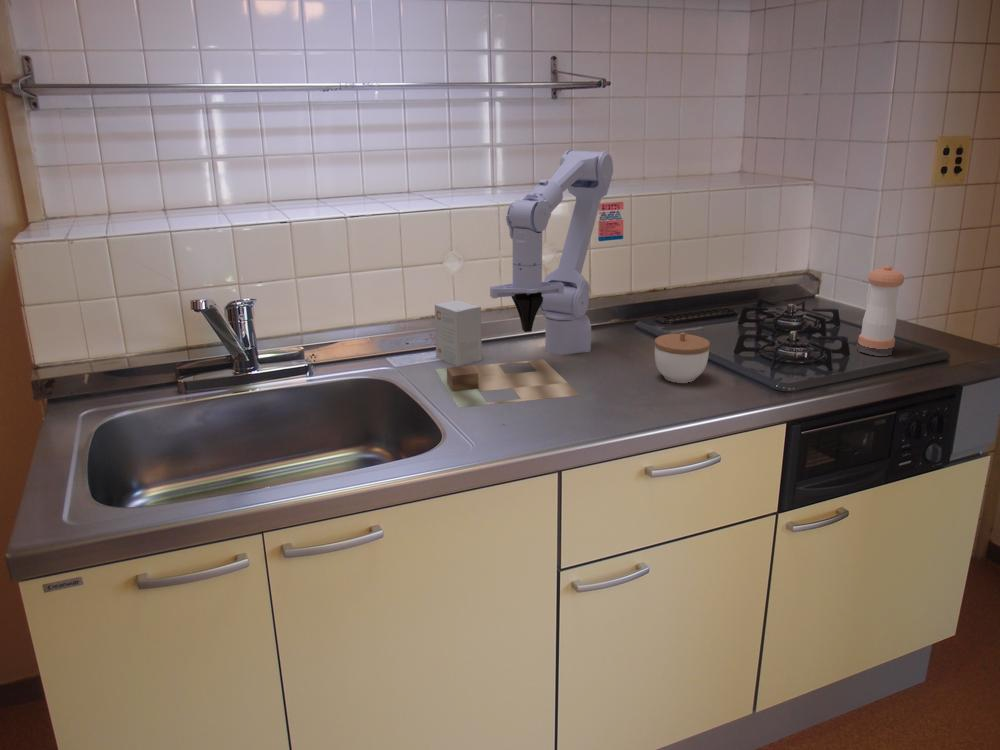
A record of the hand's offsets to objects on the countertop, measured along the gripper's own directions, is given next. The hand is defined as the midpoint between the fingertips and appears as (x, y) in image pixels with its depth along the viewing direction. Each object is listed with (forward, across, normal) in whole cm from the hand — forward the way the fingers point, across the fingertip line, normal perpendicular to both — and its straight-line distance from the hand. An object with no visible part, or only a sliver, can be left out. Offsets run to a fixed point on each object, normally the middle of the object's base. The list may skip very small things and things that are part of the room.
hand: (526, 330), depth 163 cm
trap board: (+9, -6, -6) cm, 13 cm away
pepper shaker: (+10, +78, -6) cm, 79 cm away
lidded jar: (+10, +29, -10) cm, 32 cm away
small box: (+10, -12, +10) cm, 18 cm away
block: (+8, -15, -6) cm, 18 cm away
